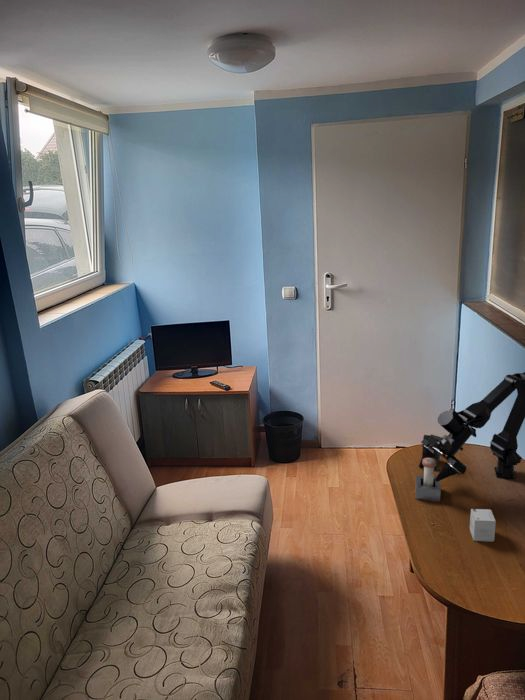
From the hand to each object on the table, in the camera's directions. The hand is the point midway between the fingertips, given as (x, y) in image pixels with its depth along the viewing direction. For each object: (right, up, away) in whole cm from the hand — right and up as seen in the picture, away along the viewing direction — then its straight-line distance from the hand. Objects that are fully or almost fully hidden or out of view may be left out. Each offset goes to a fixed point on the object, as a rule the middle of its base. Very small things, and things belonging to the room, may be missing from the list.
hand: (427, 474), depth 179 cm
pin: (+1, -7, +2) cm, 8 cm away
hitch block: (+1, -7, +3) cm, 8 cm away
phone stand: (+8, -1, +21) cm, 22 cm away
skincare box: (+10, -14, -19) cm, 26 cm away
